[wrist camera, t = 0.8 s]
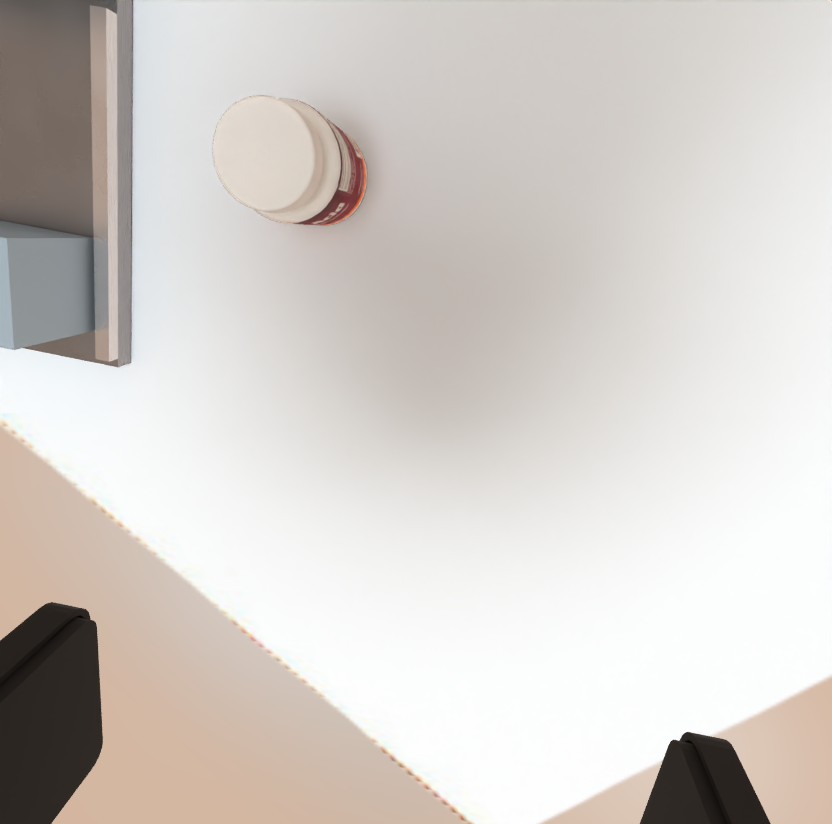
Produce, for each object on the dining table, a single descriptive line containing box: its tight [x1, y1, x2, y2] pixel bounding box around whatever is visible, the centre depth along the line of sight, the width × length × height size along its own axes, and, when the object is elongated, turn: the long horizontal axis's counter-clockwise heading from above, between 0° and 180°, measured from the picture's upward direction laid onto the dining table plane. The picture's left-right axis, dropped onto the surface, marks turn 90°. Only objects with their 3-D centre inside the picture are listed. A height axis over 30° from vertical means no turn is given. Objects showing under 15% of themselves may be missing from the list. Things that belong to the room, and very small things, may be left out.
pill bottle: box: [213, 95, 367, 225], centre depth 25 cm, size 5×5×8 cm
